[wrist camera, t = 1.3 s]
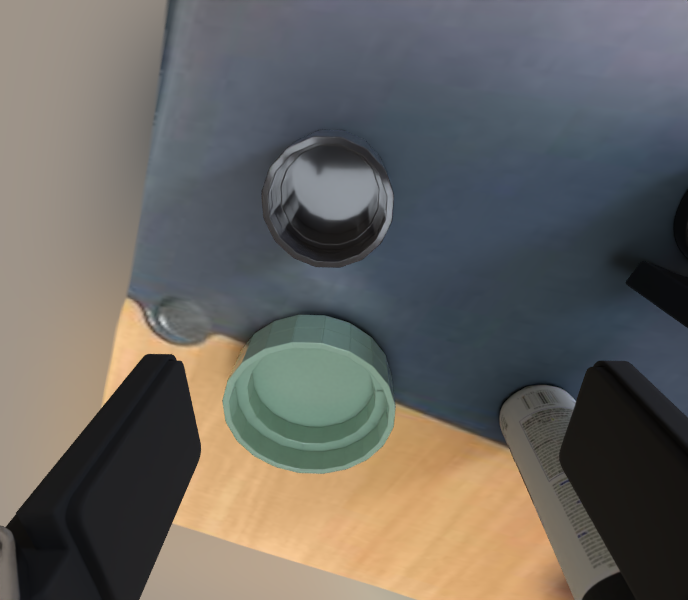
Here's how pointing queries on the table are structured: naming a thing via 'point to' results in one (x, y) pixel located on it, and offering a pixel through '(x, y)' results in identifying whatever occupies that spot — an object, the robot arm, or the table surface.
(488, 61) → the table surface
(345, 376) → the celadon bowl
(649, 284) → the light fixture
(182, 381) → the robot arm
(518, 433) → the spray can
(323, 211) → the charcoal bowl
